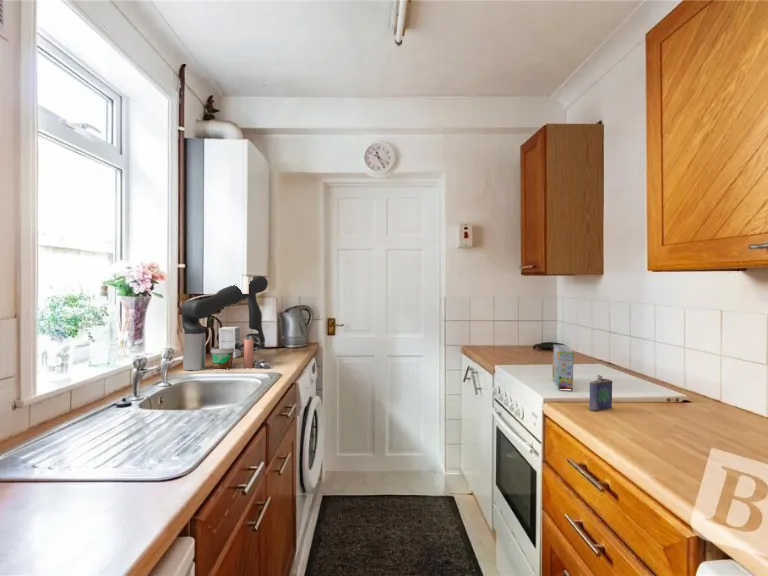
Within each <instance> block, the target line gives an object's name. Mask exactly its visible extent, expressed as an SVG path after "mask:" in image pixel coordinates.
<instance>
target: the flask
mask: <svg viewBox="0 0 768 576" xmlns="http://www.w3.org/2000/svg"><path fill="white" fill-rule="evenodd" d="M596 377H597V379H596V380H594V381H589V411H591V412H599V411H605V410H610V409H613V405H612V403H613V402H612V401H613V380H611V379H608V378H604V377H603V376H602V375H600V374H598V375H596Z"/></svg>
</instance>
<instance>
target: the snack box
mask: <svg viewBox="0 0 768 576" xmlns="http://www.w3.org/2000/svg"><path fill="white" fill-rule="evenodd" d="M574 355H575V352H574V351H573V350H572V349H570V347H568V346H567V345H565V344H553V345H552V377H553V379H554V381H555V382H554V381H553V382H554V384H555V383H556V384H555V386H556V385H557V386H556V388H557V387H558V388H559V389H571V390H573V389H574V362H575V361H574V358H575V357H574ZM553 379H552V380H553ZM558 388H557V389H558Z"/></svg>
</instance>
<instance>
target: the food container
mask: <svg viewBox="0 0 768 576" xmlns="http://www.w3.org/2000/svg"><path fill="white" fill-rule="evenodd" d="M209 352H210V353H211V360H212V361H211V362H212V369H213V368H214V369H213V370H215V369H225V370H228V369H227V368H231V369H233V360H234V358H233V352H234V348H229V349H224V348H222V349H219V348H215V346H213V347H211V348H210V351H209Z"/></svg>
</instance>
